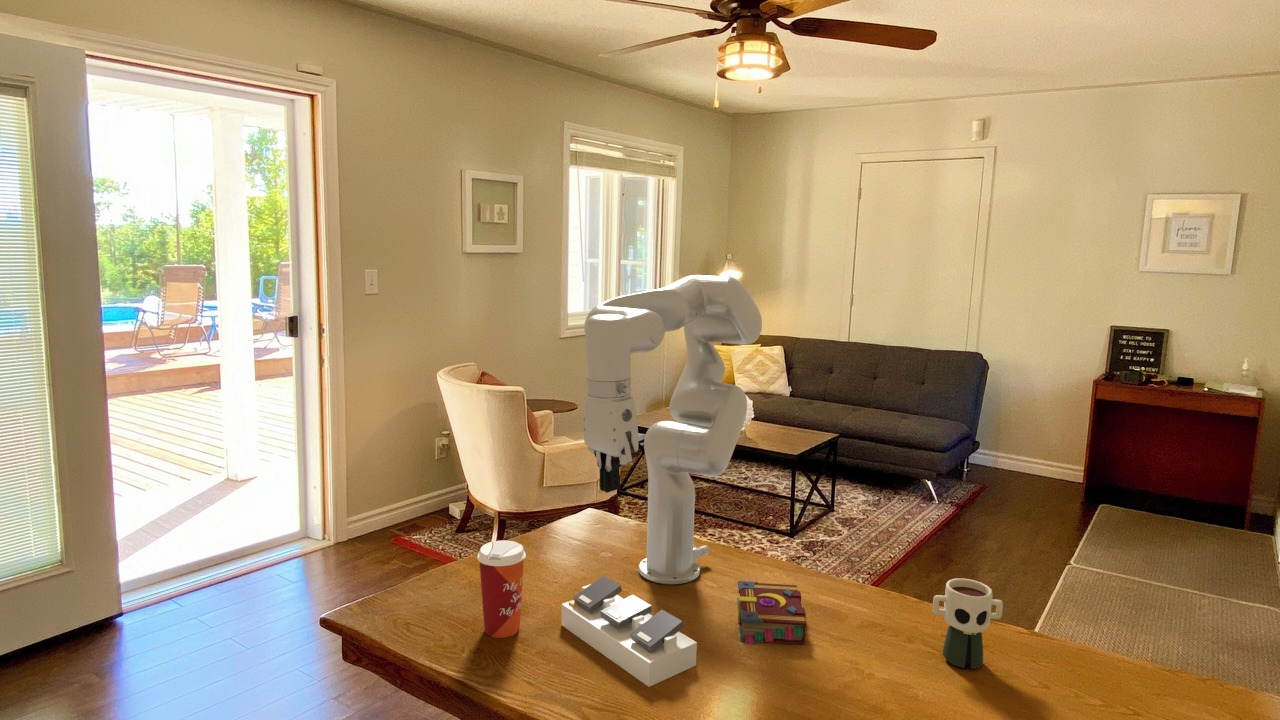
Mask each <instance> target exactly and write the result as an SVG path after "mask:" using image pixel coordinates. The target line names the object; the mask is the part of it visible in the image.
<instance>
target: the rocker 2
mask: <svg viewBox="0 0 1280 720" xmlns="http://www.w3.org/2000/svg"><path fill="white" fill-rule="evenodd" d="M652 616H653V617H651V618H650V619H649V620H647V621H646V622H645V623H644V624H642V625H641V626H640V627H638V628H637V629H636V630H635V631H633V632H632V633H631V634H630V635H631V639H632V640H633V641H634V642H636V643H637V644H639V645H640V646H642V647H643V648H645V649H647V650H648V651H650V652H651V653H653V652H654V651H655V650H656V649H658V648H659V647H660V646H661V645H662V644H664V638H666V637H668V636H671V635H673V634H674V635H675V634H676V633H677V632H678V631H679V632H680V631H681V630H682V629H683V628H685V626H684V623H683V620H681V619H679V618H678V617H676V616H674V615H672V614H671V613H669V612H668V611H665V610H664V609H660V610H659V611H658V612H656V613H655V614H654V615H652Z"/></svg>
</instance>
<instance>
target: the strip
mask: <svg viewBox="0 0 1280 720" xmlns="http://www.w3.org/2000/svg"><path fill="white" fill-rule="evenodd" d="M591 584H592V583H590V584H588V585H584V586H582V587H581V591H582V590H584V589H585V588H587V587H588V586H589V585H591ZM623 599H624V598H623V597H622V596H620V595H619V594H617V595H616V596H615V597H611V598H608V599H605V600H603V605H602V606H601V607H600V608H598V609H597V610H596V611H594V612H593V613H590V612H588V611H587V610H585V609H584V608H582V607H581V606H579V605H578V604H576V603H575V602H574V599H573V598H572V600H569V601H566V602H563V603H561V622H560V623H561V626H562V627H563V628H565V629H566V630H567V631H569V632H571V633H572V634H573V635H574V636H576V637H577V638H579V640H582V641H583V642H585V643H586V644H587V645H588V646H590V647H592V648H593V649H594V650H596V651H598V652H599V653H600V654H602V655H603V656H604V657H605V658H607V659H609V660H610V661H611V662H613V663H614V664H616V666H618V667H620V668H622V669H623V670H624V671H626V672H627V673H628V674H630V675H631V676H632V677H634V678H635V679H637V680H638V681H640V682H641V683H642V684H644V685H646V687H648V688H650V687H651V686H655V685H656V684H658V683H661V682H663V681H665V680H667V679H669V678H671V677H672V678H673V676H674V677H675V676H676V675H678V674H680V673H683V672H685V671H686V670H689V669H691V668H693V667H695V666H697V650H698V642H697V641H695V640H694V639H692V638H690V637H689V636H687V635H686V634H684V633H682V632H680V631H678V632H677V633H676V634H675V635H674V634H673V635H671V636H668V637H666V638H664V644H662V645H661V646H660V647H659V648H658V649H656V650H655V651H654V652H653V653H651V652H650V651H648V650H647V649H645V648H643V647H642V646H640V645H639V644H637V643H636V642H634V641H633V640H632V639H631V635H630V634H631V633H632V632H633V631H635V630H636V629H637V628H638V627H640V626H641V625H642V624H644V623H645V622H646V621H647V620H649V619H650V618H651V617H653V616H654V615H652V614H651V613H649V614H647V615H645V616H643V615H640V616H637V617H634V618H632V623H630V624H628V625H626V626H624V627H622V628H621V629H618V628H617V627H615V626H614V625H612V624H611V623H609V622H608V621H606V620H605V619H603V618H601V612H600V611H601V610H603V609H605V608H607V607H609V606H611V605H613V604H615V603H617V602H619V601H621V600H623Z"/></svg>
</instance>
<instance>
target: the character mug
mask: <svg viewBox="0 0 1280 720" xmlns="http://www.w3.org/2000/svg"><path fill="white" fill-rule="evenodd" d="M993 597H994V596H993V589H992V588H990V586H988V585H986V584H985V583H982V582H981V581H977V580H974V579H969V578H951V579H949V580H948V581H946V583H945V591H944V595H940V594H937V595H934V596H933V599H932V610H931V611H932V613H933V614H935V615H941V616H942V615H943V619H944V621H945V623H947V624H948V625H949V626H948V627H947V629H946V630H947V631H946V635H945V640H944V644H943V648H942V656H943V657H944V658H945V661H947V662H949V663H950V664H952V665H953V666H957V667H960V668H966V663H970V669H976V668H980V667H981V666H982V665H983V664H984V646H983V645H984V644H983V643H984V642H983V635H982V634H983V633H982V632H984V631H986V630H987V629H988V628H989V626H990V625H991V620H993V619H994V620H1001V619H1002V617H1003V608H1004V607H1003V605H1004V602H1003V600H1001V599H996V598H995V599H993ZM940 602H943V603H944V604H943V608H940ZM992 606H995V608H996V609H995V612H992Z"/></svg>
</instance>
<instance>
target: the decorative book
mask: <svg viewBox="0 0 1280 720" xmlns="http://www.w3.org/2000/svg"><path fill="white" fill-rule="evenodd" d="M737 589H738V591H737V592H738V594H739V596H738V597H736V598H737V599H736V606H737V623H738V624H739V641H740V642H741V643H742V642H744V643H745V645H748V646H754V644H755V643H758V644H760V643H761V644H762V643H763V642H764V643H780V644H781V643H782V644H797V645H805V644H806V629H807V628H806V627H807V622H806V616H807V613H806V610H805V607H803V606H802V594H801V591H800V590H798V585H796V584H782V583H781V584H780V583H765V582H764V583H763V582H761V583H760V582H758V581H752V580H751V581H750V580H748V581H747V580H737Z"/></svg>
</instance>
